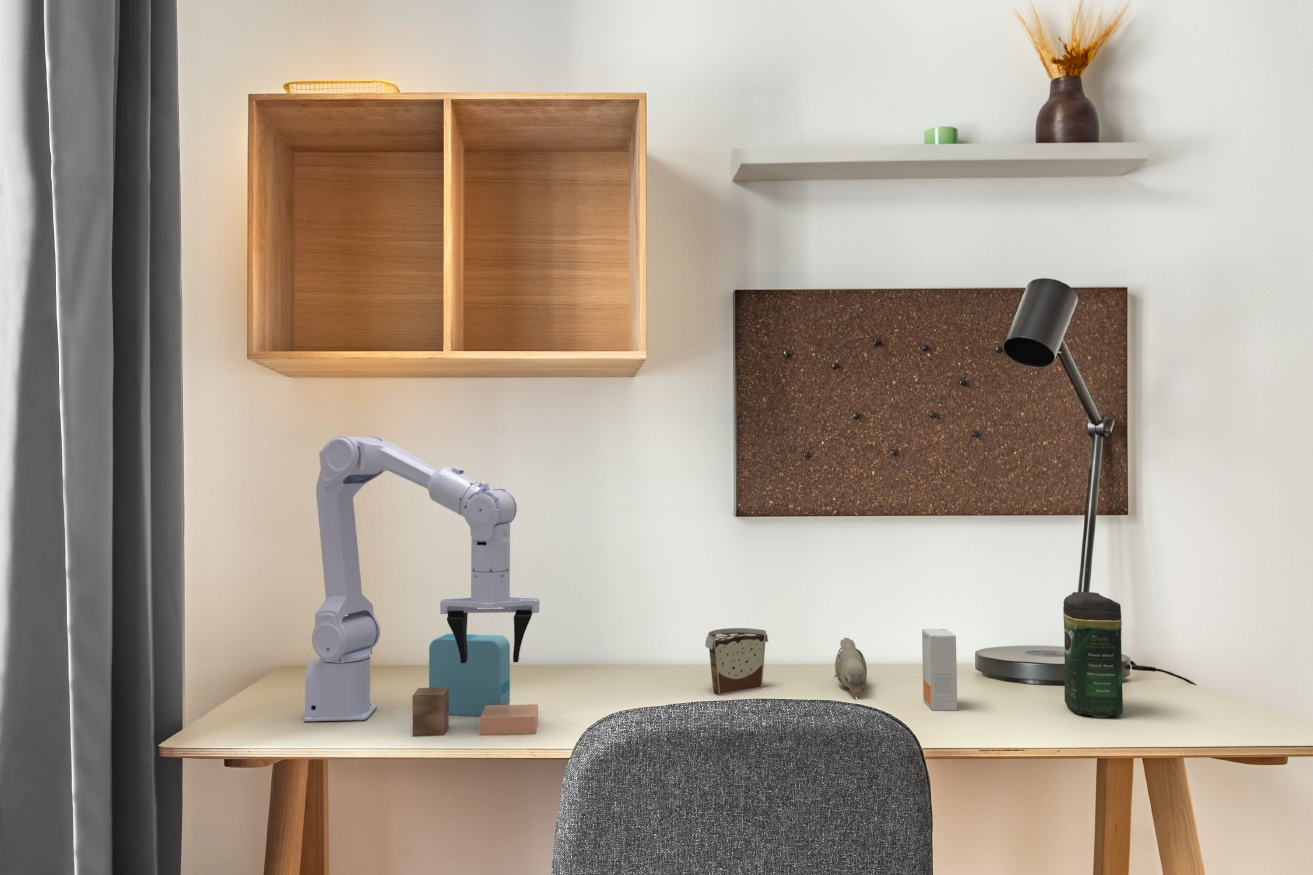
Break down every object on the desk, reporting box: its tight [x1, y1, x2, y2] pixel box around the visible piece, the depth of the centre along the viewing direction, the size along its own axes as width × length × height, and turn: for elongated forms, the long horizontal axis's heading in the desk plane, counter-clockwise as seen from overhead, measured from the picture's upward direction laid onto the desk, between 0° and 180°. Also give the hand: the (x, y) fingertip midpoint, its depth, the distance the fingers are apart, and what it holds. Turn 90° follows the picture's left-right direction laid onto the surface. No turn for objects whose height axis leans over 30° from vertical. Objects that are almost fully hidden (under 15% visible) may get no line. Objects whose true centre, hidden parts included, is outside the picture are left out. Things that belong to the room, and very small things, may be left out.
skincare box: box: [921, 628, 958, 712], centre depth 151 cm, size 6×4×12 cm
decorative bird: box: [834, 637, 868, 699], centre depth 163 cm, size 5×16×8 cm, turn 174°
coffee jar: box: [1062, 591, 1124, 718], centre depth 147 cm, size 10×8×19 cm
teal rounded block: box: [428, 633, 511, 718], centre depth 148 cm, size 12×4×12 cm, turn 79°
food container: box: [704, 627, 769, 696], centre depth 163 cm, size 12×6×10 cm, turn 122°
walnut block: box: [412, 687, 450, 738], centre depth 137 cm, size 4×4×6 cm
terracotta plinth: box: [479, 703, 539, 736], centre depth 139 cm, size 8×7×2 cm
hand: (490, 661), depth 139 cm, fingers open, 7 cm apart
